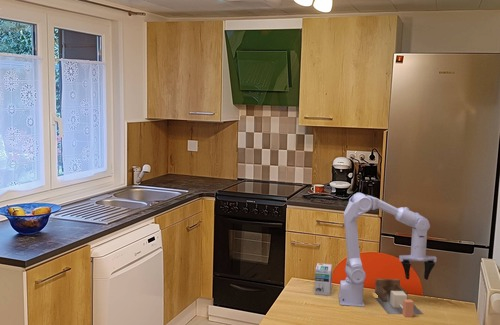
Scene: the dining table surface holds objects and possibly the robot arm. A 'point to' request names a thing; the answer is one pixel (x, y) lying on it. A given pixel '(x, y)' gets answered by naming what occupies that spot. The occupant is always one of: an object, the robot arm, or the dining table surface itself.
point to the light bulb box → (323, 279)
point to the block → (402, 303)
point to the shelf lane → (384, 291)
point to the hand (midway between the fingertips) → (416, 278)
